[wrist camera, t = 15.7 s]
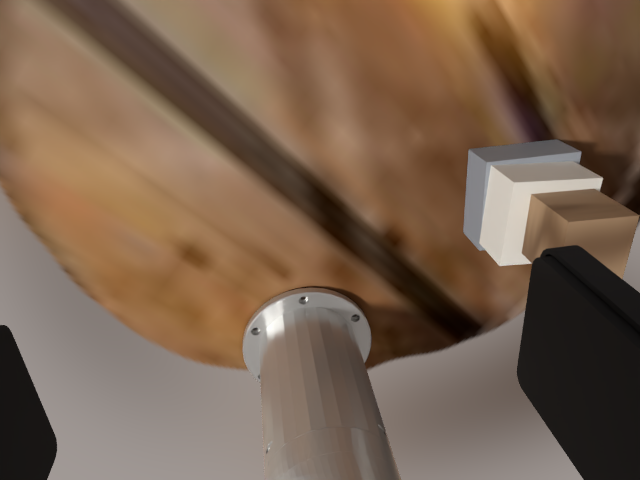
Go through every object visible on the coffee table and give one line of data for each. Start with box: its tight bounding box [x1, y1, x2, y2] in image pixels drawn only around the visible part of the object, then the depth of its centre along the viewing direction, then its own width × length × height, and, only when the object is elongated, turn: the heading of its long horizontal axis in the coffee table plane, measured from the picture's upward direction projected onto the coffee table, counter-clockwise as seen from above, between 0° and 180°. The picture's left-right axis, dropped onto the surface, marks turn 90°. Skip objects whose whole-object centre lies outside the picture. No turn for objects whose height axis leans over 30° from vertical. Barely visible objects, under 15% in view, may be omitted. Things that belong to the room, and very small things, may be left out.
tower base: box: [463, 139, 581, 251], centre depth 45 cm, size 8×8×4 cm
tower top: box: [479, 161, 603, 266], centre depth 41 cm, size 7×7×4 cm
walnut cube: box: [522, 189, 640, 279], centre depth 37 cm, size 5×5×5 cm
